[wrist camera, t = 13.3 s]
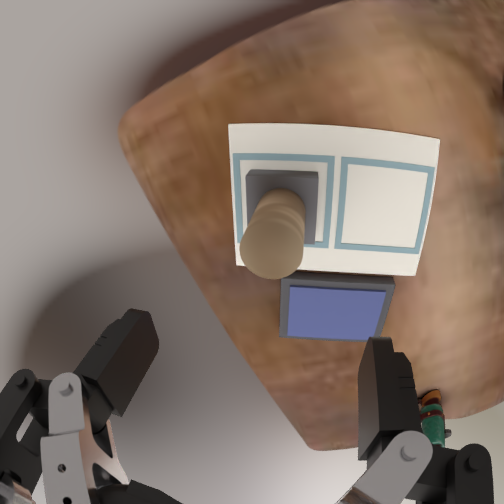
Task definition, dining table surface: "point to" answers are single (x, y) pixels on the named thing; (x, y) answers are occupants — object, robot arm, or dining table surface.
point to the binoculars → (433, 419)
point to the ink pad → (334, 306)
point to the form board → (346, 190)
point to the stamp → (278, 220)
